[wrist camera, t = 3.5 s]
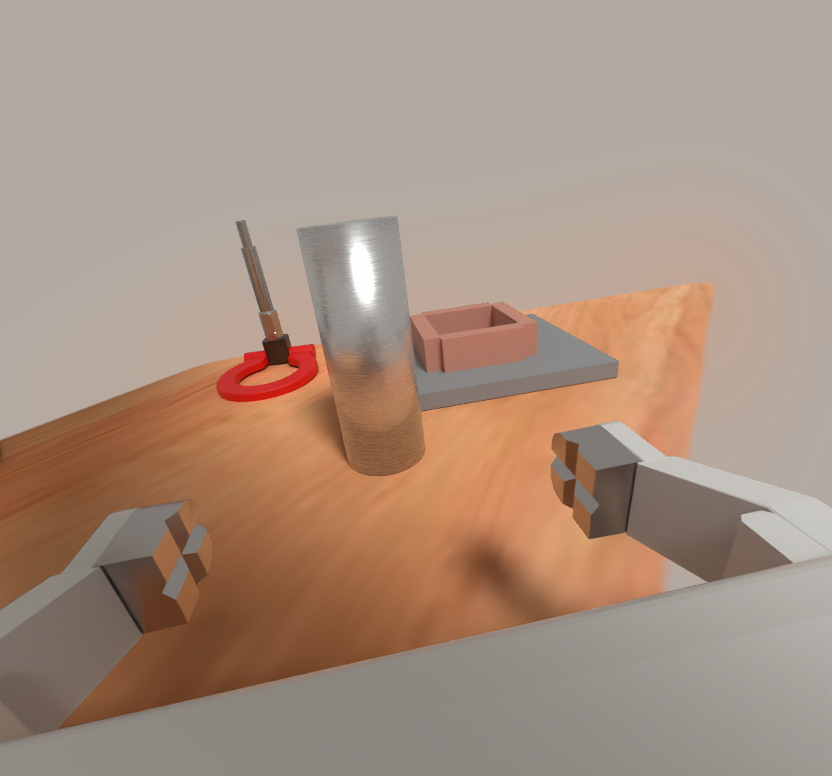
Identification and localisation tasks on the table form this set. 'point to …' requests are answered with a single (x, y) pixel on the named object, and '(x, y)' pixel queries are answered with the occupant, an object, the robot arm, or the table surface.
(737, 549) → the robot arm
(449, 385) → the keeper
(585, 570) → the table surface
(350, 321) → the brushed steel cylinder
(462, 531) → the table surface
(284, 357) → the tow hook
